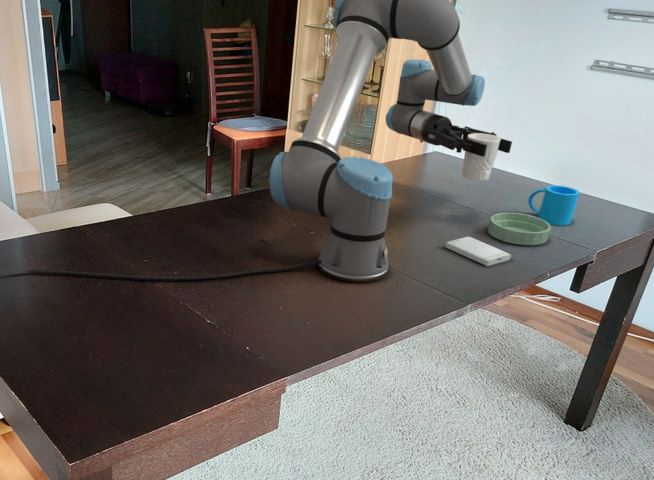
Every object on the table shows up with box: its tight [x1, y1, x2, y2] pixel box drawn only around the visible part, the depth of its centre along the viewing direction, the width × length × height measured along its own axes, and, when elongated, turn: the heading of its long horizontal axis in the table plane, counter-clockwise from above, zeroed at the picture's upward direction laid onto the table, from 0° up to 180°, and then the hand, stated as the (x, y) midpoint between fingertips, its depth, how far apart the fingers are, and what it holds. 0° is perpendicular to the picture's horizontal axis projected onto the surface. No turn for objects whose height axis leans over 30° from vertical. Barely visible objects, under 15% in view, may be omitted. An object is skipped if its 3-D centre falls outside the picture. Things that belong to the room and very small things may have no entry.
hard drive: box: [445, 236, 512, 267], centre depth 159 cm, size 2×8×12 cm
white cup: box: [461, 133, 502, 181], centre depth 170 cm, size 8×8×10 cm
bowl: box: [487, 212, 552, 246], centre depth 170 cm, size 14×14×4 cm
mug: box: [528, 184, 581, 226], centre depth 181 cm, size 12×8×8 cm
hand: (497, 149), depth 165 cm, fingers closed on white cup, 8 cm apart
